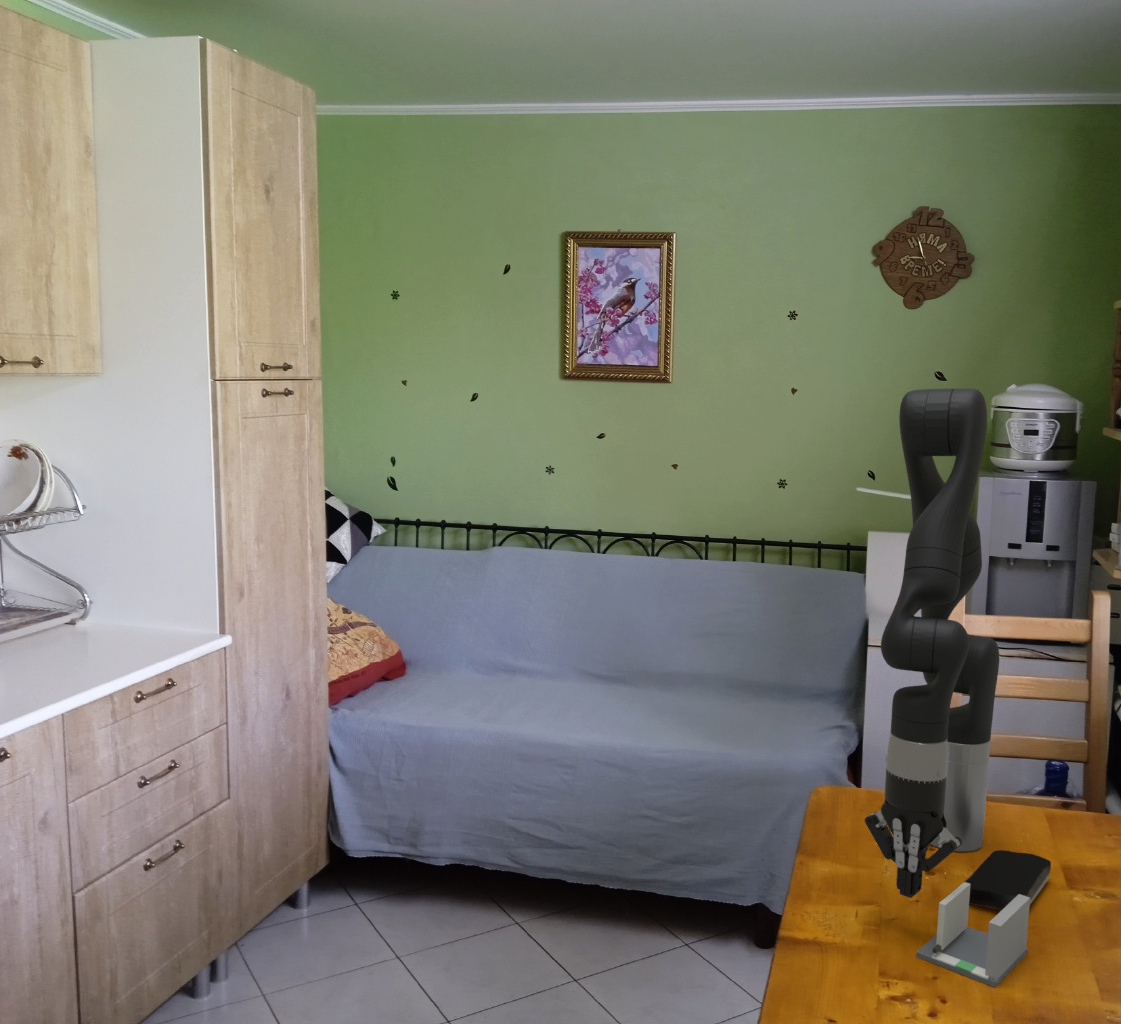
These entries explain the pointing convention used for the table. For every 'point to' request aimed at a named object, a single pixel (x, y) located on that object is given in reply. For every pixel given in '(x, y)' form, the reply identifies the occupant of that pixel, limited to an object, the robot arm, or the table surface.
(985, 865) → the black sponge
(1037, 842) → the table surface
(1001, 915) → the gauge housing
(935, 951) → the panel
